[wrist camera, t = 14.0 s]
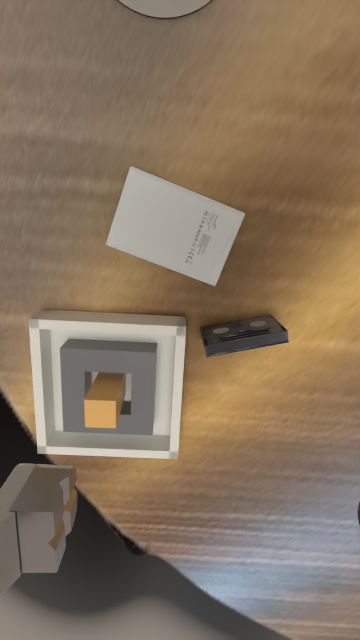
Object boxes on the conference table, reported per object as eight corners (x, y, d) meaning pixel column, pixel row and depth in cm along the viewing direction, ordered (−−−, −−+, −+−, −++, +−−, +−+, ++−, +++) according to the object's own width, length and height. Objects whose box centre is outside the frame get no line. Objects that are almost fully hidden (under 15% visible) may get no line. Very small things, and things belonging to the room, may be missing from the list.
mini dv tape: (202, 339, 39) (207, 359, 33) (200, 327, 39) (204, 345, 33) (272, 327, 39) (289, 345, 33) (270, 314, 38) (287, 330, 33)
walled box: (43, 309, 38) (28, 319, 34) (185, 316, 38) (186, 326, 34) (50, 432, 42) (37, 453, 38) (177, 437, 43) (177, 458, 39)
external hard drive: (132, 167, 34) (243, 213, 36) (108, 244, 36) (213, 284, 38) (130, 165, 33) (246, 212, 34) (104, 245, 35) (215, 287, 36)
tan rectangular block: (99, 369, 39) (84, 399, 32) (125, 370, 39) (115, 401, 32) (100, 392, 40) (85, 427, 33) (125, 393, 40) (115, 428, 33)
